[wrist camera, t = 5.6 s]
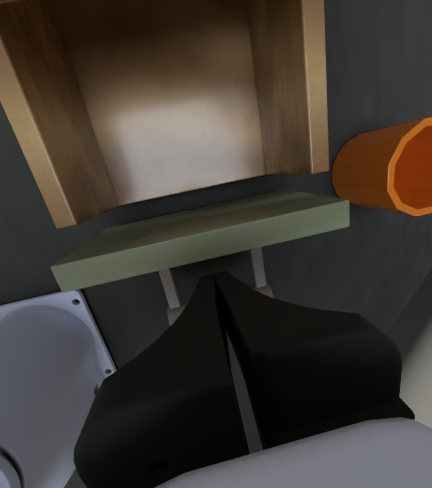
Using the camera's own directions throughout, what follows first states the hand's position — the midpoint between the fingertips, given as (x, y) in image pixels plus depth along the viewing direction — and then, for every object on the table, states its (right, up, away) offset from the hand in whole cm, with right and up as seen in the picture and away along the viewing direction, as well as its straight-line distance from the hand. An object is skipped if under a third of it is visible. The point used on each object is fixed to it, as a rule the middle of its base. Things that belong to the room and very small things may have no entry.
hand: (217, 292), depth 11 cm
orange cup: (+11, +8, +6) cm, 15 cm away
